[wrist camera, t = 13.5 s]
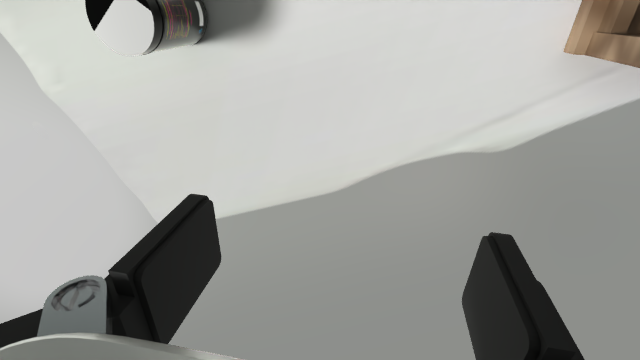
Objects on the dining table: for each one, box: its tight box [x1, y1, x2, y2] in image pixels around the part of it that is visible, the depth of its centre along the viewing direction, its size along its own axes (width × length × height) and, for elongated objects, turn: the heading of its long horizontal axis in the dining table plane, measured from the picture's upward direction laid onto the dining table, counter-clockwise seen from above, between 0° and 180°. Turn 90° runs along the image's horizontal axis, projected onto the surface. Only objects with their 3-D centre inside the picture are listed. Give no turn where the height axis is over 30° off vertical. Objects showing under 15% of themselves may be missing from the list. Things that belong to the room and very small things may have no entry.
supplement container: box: [85, 0, 207, 56], centre depth 34 cm, size 7×7×10 cm
